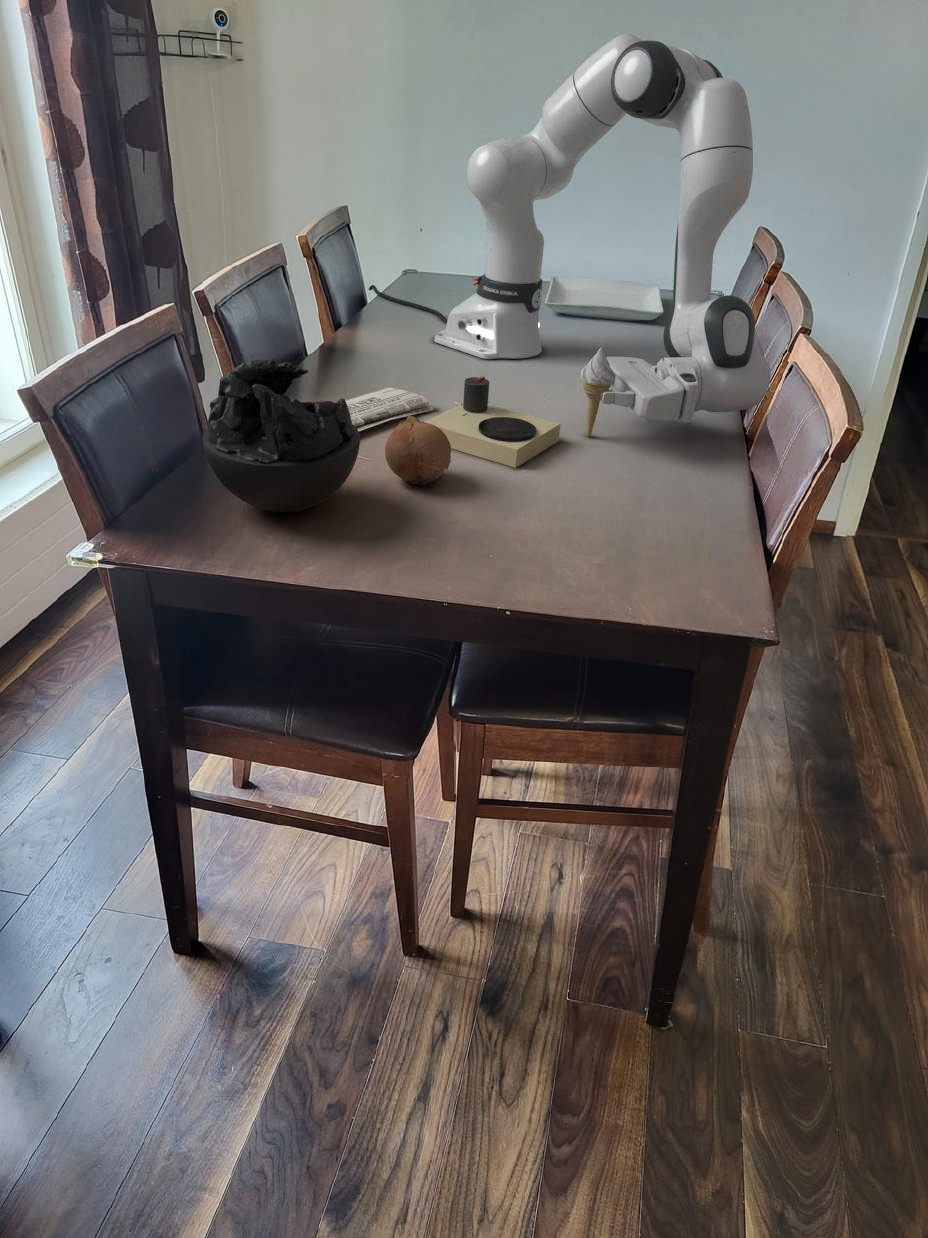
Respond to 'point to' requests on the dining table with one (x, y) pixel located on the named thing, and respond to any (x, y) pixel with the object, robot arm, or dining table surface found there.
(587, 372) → the ice cream cone
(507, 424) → the burner
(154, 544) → the dining table surface
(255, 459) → the coal bowl
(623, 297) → the square plate
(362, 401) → the newspaper
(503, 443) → the hob
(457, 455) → the dining table surface
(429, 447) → the onion
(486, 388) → the hob knob
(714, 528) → the dining table surface
